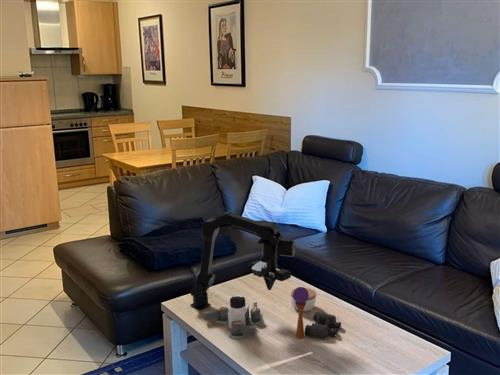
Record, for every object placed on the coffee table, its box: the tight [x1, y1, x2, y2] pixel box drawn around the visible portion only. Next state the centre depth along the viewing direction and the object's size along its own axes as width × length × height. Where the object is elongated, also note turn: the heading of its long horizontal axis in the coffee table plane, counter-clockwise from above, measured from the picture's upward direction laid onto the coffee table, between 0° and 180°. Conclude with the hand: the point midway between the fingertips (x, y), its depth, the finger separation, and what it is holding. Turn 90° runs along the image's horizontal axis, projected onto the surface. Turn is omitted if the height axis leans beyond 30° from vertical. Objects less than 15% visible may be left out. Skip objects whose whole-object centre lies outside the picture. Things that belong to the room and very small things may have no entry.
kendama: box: [293, 286, 309, 339], centre depth 187 cm, size 6×6×20 cm
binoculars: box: [304, 311, 342, 340], centre depth 193 cm, size 11×16×6 cm
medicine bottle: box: [228, 294, 250, 330], centre depth 196 cm, size 7×7×12 cm
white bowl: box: [290, 287, 317, 313], centre depth 210 cm, size 11×11×9 cm
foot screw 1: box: [203, 306, 230, 321], centre depth 200 cm, size 10×4×4 cm, turn 105°
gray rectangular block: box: [230, 321, 257, 337], centre depth 188 cm, size 10×4×4 cm, turn 66°
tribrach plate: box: [214, 316, 264, 340], centre depth 199 cm, size 19×20×1 cm
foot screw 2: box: [249, 301, 261, 322], centre depth 203 cm, size 10×4×4 cm, turn 179°
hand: (269, 289), depth 202 cm, fingers closed
